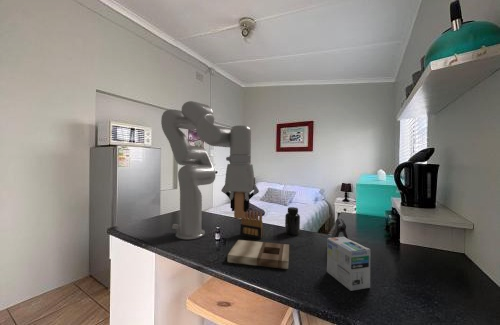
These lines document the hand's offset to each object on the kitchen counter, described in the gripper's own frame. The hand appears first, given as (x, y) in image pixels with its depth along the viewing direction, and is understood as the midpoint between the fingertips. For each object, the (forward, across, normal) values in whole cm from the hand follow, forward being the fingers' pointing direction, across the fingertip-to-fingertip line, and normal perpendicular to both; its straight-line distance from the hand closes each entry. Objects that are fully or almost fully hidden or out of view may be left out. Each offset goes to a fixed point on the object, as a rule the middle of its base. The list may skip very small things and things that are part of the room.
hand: (239, 210), depth 79 cm
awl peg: (+2, 0, 0) cm, 2 cm away
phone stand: (+17, +37, +11) cm, 42 cm away
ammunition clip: (+16, +1, +19) cm, 25 cm away
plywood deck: (+16, +8, 0) cm, 18 cm away
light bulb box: (+17, +35, -9) cm, 39 cm away
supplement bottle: (+16, +19, +28) cm, 38 cm away
